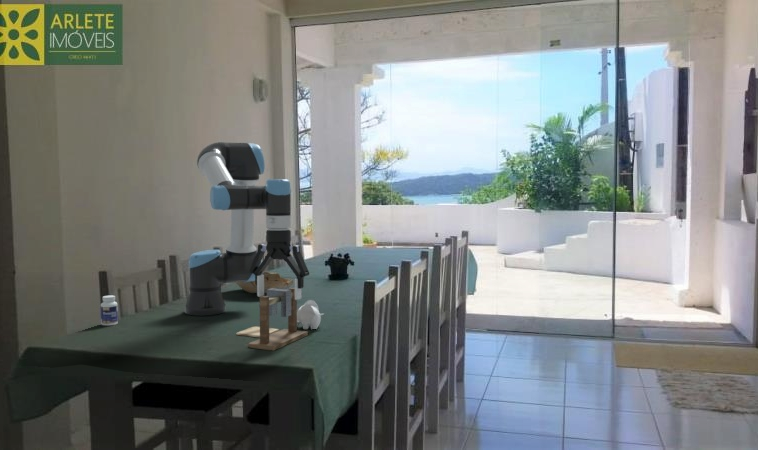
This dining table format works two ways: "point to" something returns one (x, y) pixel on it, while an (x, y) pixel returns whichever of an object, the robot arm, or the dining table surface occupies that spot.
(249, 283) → the brown wooden chunk
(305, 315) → the elephant figurine
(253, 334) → the cork coaster
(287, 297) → the c link
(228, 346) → the dining table surface
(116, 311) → the pill bottle
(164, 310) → the dining table surface
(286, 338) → the stand
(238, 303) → the dining table surface
